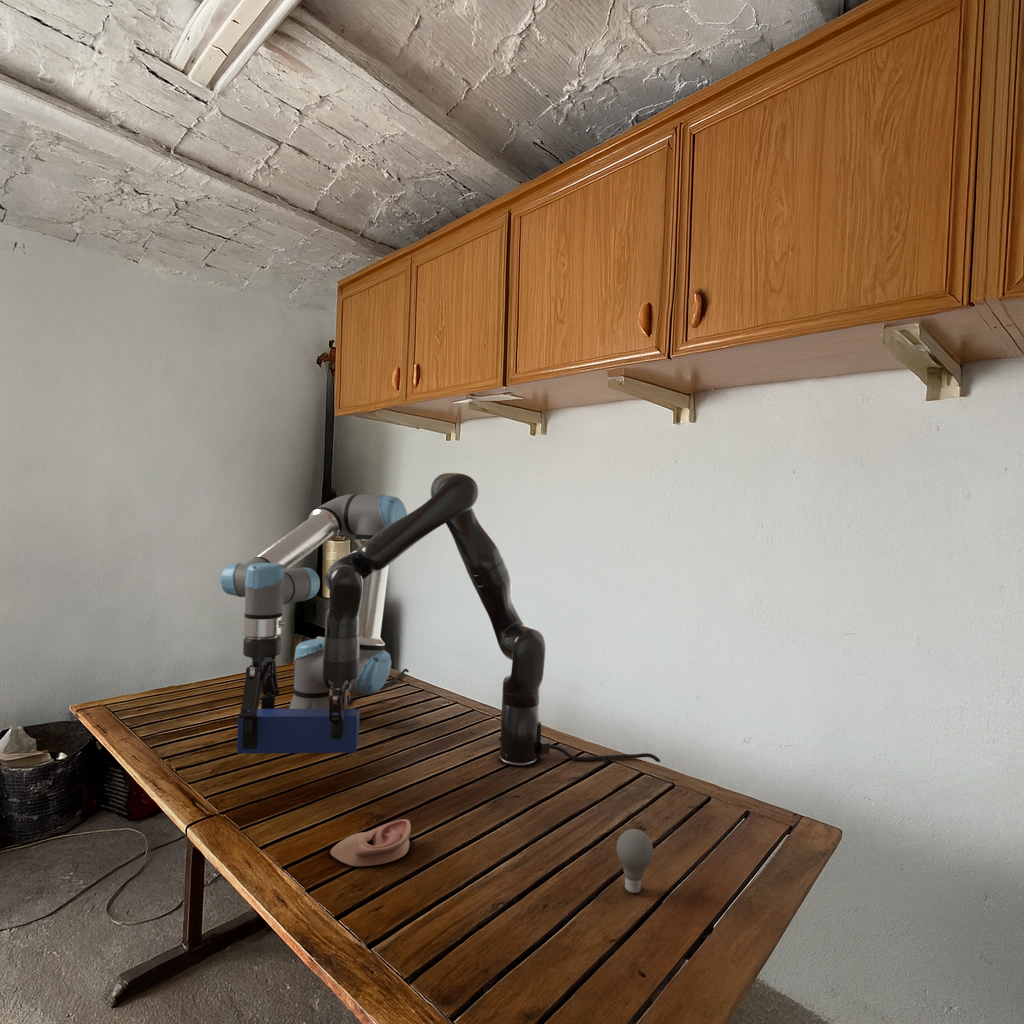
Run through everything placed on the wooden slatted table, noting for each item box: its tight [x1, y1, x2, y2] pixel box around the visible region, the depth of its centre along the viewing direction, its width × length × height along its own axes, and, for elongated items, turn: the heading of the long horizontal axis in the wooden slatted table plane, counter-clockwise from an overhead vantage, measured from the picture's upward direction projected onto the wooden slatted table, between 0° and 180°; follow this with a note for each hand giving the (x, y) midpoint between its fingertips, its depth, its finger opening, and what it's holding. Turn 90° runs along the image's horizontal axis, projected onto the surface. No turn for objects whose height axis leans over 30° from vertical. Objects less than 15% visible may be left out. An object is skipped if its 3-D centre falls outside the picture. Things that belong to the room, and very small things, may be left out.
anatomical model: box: [329, 818, 412, 867], centre depth 114 cm, size 13×4×12 cm
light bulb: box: [615, 828, 654, 894], centre depth 106 cm, size 6×6×10 cm
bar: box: [236, 708, 361, 755], centre depth 136 cm, size 24×5×8 cm, turn 96°
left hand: (258, 736), depth 135 cm, fingers open, 12 cm apart
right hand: (338, 733), depth 137 cm, fingers closed on bar, 5 cm apart
